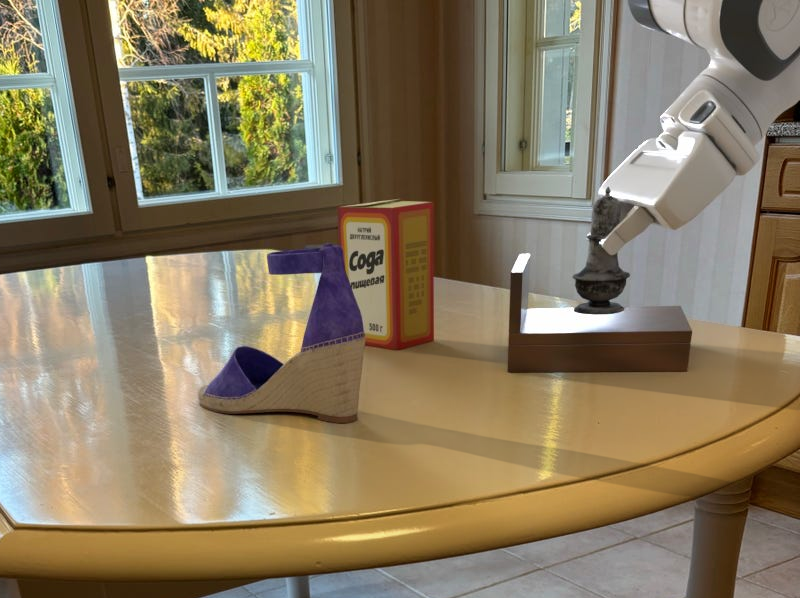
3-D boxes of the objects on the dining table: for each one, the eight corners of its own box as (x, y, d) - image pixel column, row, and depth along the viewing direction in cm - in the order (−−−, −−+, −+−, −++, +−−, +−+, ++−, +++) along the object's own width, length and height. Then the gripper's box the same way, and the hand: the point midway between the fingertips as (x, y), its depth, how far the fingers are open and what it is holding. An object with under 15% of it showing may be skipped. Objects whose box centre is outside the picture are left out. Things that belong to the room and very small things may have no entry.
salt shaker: (638, 308, 99) (651, 184, 93) (601, 317, 96) (611, 189, 91) (595, 303, 104) (605, 183, 98) (558, 311, 101) (566, 189, 95)
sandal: (244, 388, 100) (229, 237, 93) (381, 415, 87) (376, 243, 80) (184, 405, 95) (163, 247, 88) (319, 437, 82) (307, 255, 75)
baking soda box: (433, 340, 115) (433, 198, 108) (396, 350, 112) (393, 204, 104) (380, 332, 122) (376, 198, 114) (344, 341, 118) (337, 203, 110)
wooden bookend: (676, 342, 106) (687, 247, 101) (687, 371, 94) (700, 266, 89) (516, 344, 110) (519, 254, 105) (507, 372, 98) (510, 272, 94)
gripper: (649, 111, 100) (553, 217, 105) (726, 108, 82) (606, 236, 87) (685, 155, 102) (590, 256, 107) (768, 161, 84) (649, 282, 89)
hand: (597, 247), depth 97 cm, fingers closed on salt shaker, 3 cm apart
